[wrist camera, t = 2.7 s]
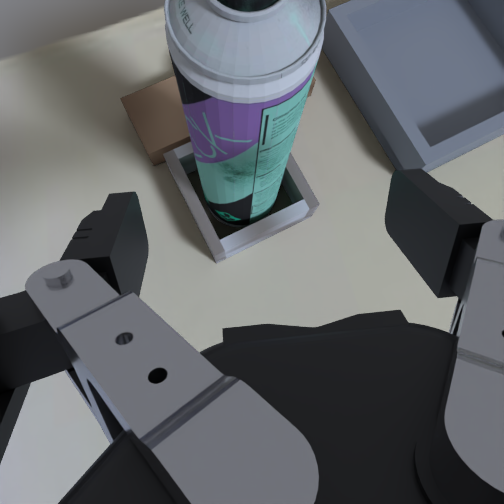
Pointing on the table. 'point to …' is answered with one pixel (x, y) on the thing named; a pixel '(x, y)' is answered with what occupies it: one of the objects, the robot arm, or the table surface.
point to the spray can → (243, 93)
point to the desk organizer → (183, 162)
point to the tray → (422, 73)
